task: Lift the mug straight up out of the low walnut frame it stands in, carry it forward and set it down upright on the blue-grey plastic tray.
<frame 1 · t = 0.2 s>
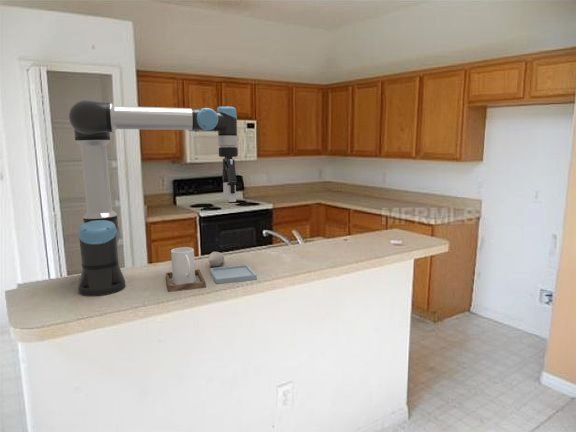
hand: (229, 199, 172), 28 cm above the worktop, fingers open, 13 cm apart
tray: (232, 276, 163), on the worktop
mug: (185, 283, 155), resting in walnut frame
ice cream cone: (215, 267, 176), on the worktop
walnut frame: (185, 282, 155), on the worktop
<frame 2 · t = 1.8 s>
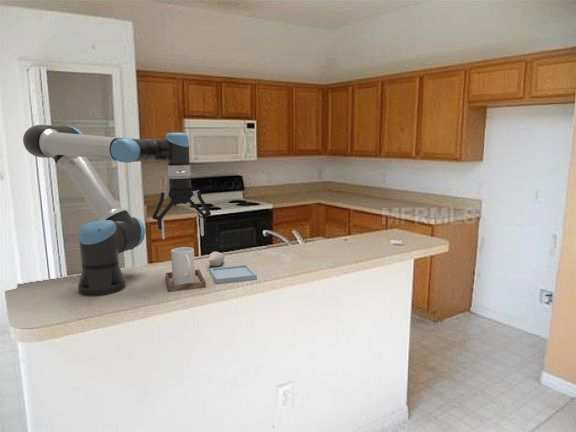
hand: (183, 236, 153), 17 cm above the worktop, fingers open, 13 cm apart
nothing on the worktop moved.
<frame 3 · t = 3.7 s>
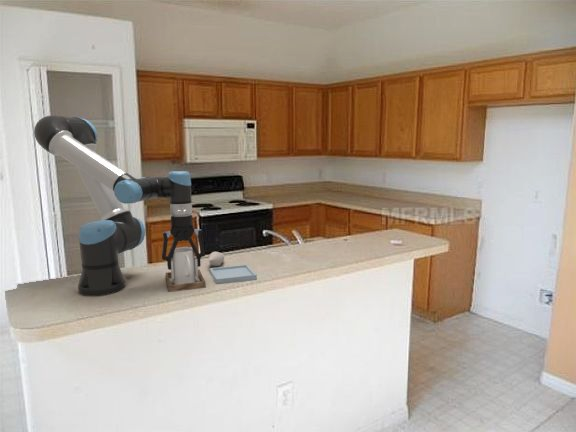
hand: (184, 276, 155), 2 cm above the worktop, fingers closed on mug, 8 cm apart
mug: (185, 282, 155), resting in walnut frame, touching gripper
everything else where it was.
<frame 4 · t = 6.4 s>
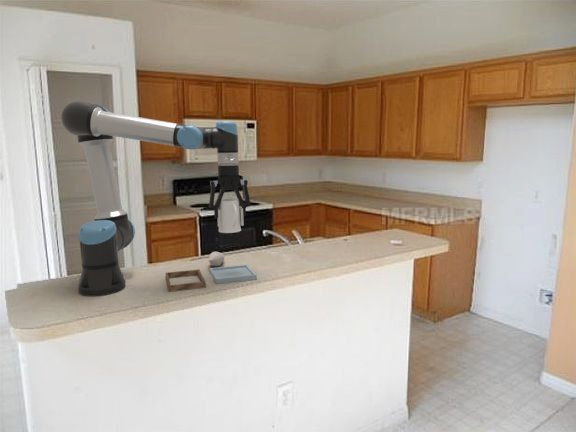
hand: (230, 225, 159), 20 cm above the worktop, fingers closed on mug, 8 cm apart
mug: (231, 232, 160), point 17 cm above the worktop, touching gripper
everything else where it was.
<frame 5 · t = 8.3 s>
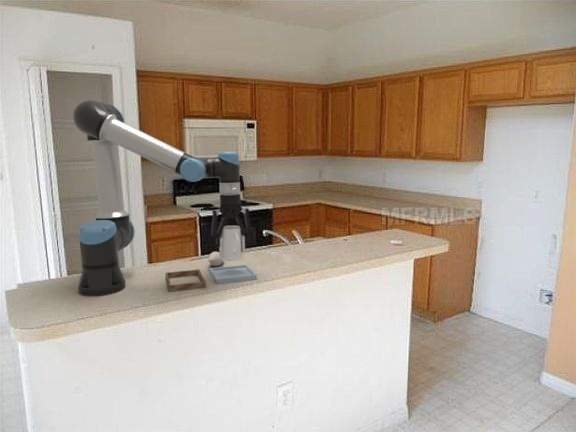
hand: (232, 253, 161), 9 cm above the worktop, fingers closed on mug, 8 cm apart
mug: (232, 259, 161), point 6 cm above the worktop, touching gripper
everything else where it was.
when the fingers open (5 cm above the worktop, at t = 9.6 s): mug drops 1 cm, resting on tray.
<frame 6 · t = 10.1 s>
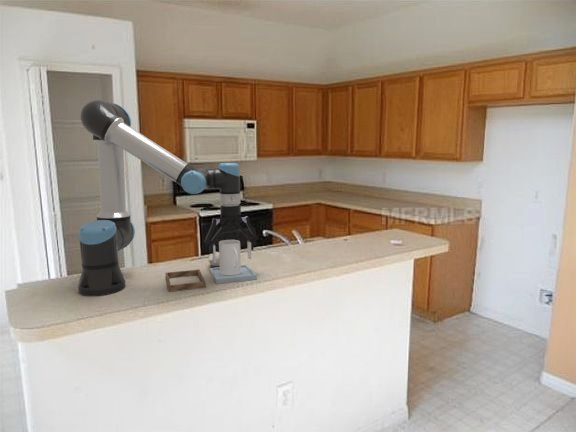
hand: (232, 260, 162), 6 cm above the worktop, fingers open, 13 cm apart
mug: (231, 274, 162), point 1 cm above the worktop, touching tray
everything else where it was.
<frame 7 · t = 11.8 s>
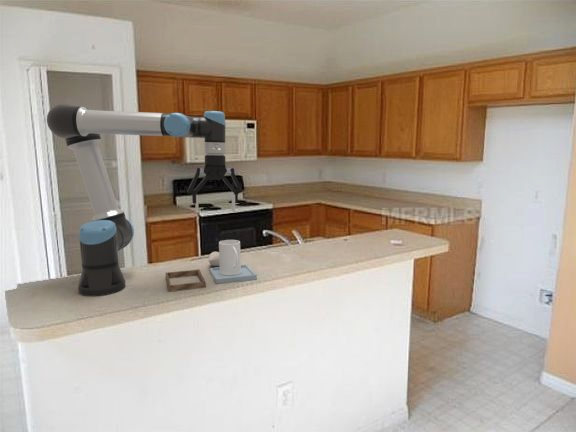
hand: (215, 212, 159), 25 cm above the worktop, fingers open, 13 cm apart
nothing on the worktop moved.
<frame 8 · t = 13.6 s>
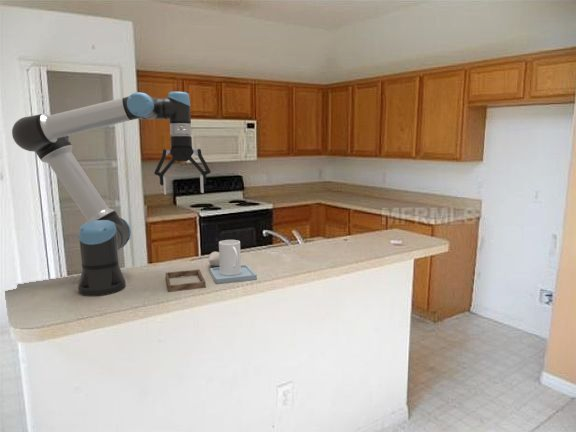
hand: (183, 193, 159), 32 cm above the worktop, fingers open, 13 cm apart
nothing on the worktop moved.
at the end: mug inside the target area on the tray (0.4 cm from its centre), point 0.8 cm above the tray's base; mug tilted 0°; the gripper is holding nothing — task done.
